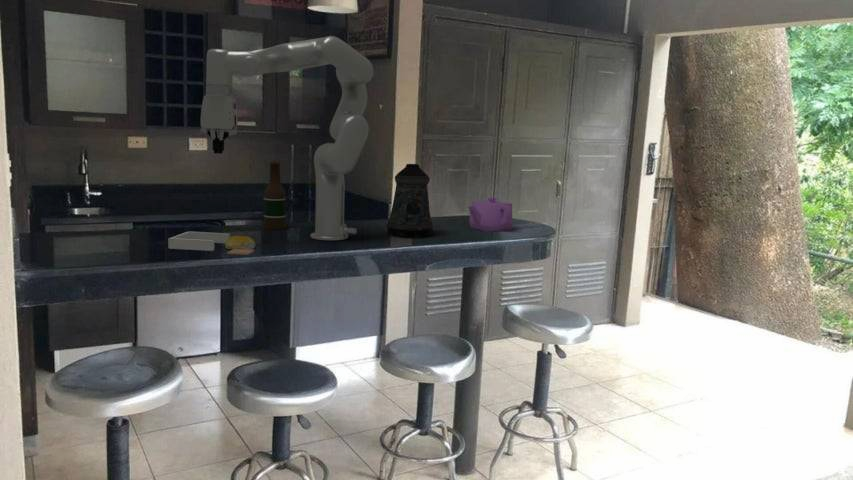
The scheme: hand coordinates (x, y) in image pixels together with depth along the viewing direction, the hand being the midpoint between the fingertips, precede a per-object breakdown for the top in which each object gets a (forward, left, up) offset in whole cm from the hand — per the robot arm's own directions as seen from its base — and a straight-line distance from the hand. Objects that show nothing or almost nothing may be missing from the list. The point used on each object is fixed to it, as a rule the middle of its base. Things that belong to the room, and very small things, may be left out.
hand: (218, 153), depth 212 cm
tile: (-11, +12, -28) cm, 32 cm away
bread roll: (-8, +4, -28) cm, 30 cm away
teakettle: (-84, -63, -28) cm, 109 cm away
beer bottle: (-7, -36, -28) cm, 46 cm away
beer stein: (-55, -39, -28) cm, 73 cm away
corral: (+4, +4, -28) cm, 29 cm away
